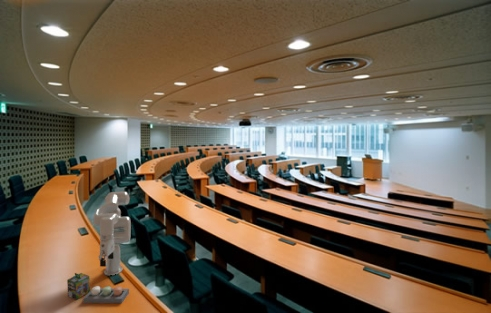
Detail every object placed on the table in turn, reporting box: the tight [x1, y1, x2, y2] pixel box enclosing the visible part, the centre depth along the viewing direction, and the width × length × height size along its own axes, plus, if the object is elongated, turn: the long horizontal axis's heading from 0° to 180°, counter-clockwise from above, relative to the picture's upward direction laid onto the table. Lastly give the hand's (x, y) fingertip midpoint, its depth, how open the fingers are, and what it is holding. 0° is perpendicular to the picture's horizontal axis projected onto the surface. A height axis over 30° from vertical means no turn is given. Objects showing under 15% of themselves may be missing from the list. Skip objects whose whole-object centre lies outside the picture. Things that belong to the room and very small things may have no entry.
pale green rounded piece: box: [103, 286, 112, 297], centre depth 156 cm, size 5×5×4 cm
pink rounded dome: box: [113, 285, 123, 297], centre depth 156 cm, size 5×5×4 cm
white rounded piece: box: [90, 285, 101, 296], centre depth 155 cm, size 5×5×4 cm
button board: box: [82, 287, 130, 304], centre depth 156 cm, size 24×10×3 cm, turn 92°
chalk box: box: [67, 272, 91, 301], centre depth 158 cm, size 9×9×15 cm
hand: (107, 262), depth 154 cm, fingers open, 9 cm apart
